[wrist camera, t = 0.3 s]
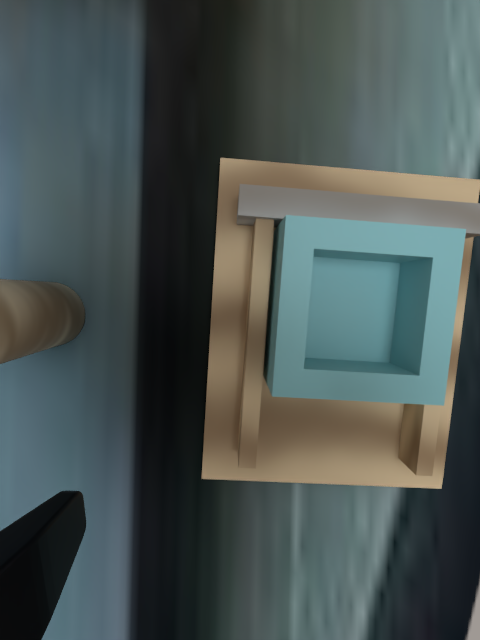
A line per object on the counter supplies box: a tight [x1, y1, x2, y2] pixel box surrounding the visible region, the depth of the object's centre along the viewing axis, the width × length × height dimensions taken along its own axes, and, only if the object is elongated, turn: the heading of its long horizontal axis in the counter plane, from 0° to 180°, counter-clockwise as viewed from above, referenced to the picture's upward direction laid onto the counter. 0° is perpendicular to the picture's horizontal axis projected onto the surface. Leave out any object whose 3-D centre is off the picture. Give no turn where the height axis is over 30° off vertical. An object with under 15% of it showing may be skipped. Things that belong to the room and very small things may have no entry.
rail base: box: [202, 158, 480, 489], centre depth 19 cm, size 20×16×3 cm
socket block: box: [263, 215, 466, 406], centre depth 18 cm, size 9×9×4 cm
